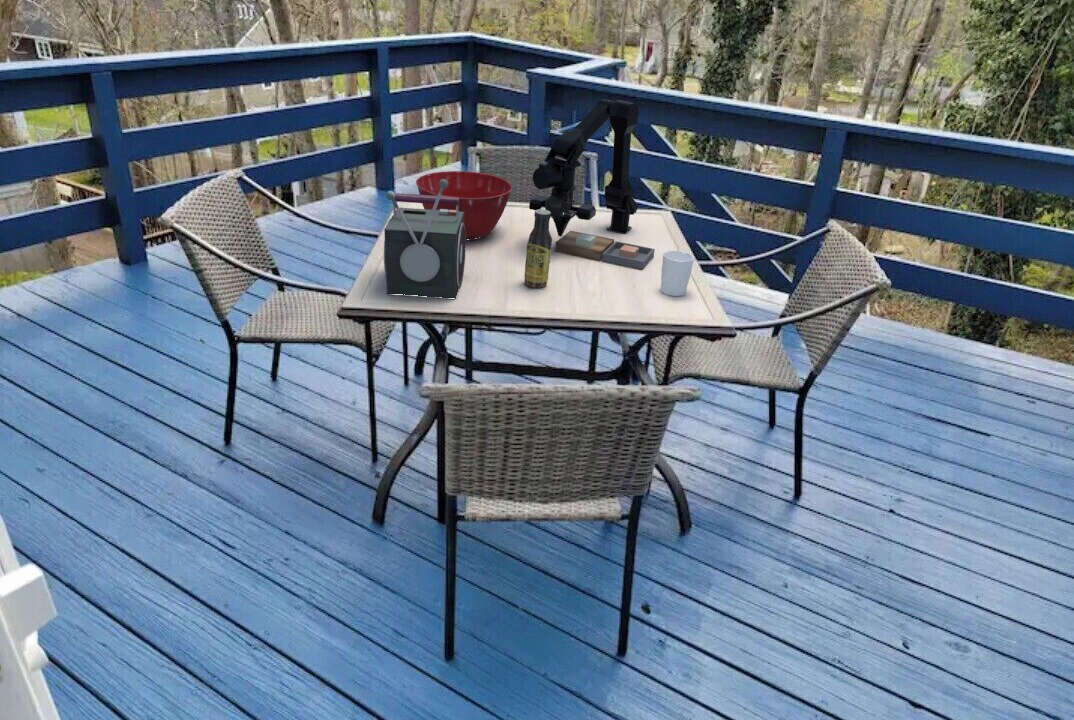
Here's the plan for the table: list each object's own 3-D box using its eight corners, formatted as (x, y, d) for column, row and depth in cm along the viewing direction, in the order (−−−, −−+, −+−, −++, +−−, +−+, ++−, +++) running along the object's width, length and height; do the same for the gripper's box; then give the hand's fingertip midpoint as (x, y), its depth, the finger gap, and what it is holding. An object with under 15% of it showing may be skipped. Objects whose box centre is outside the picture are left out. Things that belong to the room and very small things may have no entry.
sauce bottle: (519, 285, 196) (523, 211, 186) (531, 277, 201) (535, 205, 191) (541, 291, 193) (546, 216, 184) (552, 283, 198) (558, 210, 189)
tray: (614, 249, 224) (615, 241, 223) (653, 257, 220) (654, 248, 219) (601, 261, 214) (602, 253, 213) (642, 270, 211) (643, 261, 209)
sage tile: (581, 240, 220) (581, 233, 220) (595, 243, 219) (596, 236, 218) (575, 244, 217) (576, 238, 216) (590, 247, 215) (590, 240, 214)
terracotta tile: (639, 247, 219) (638, 254, 220) (624, 244, 220) (623, 251, 221) (634, 252, 215) (633, 258, 216) (619, 249, 217) (618, 255, 218)
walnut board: (569, 239, 229) (570, 230, 227) (613, 248, 224) (614, 239, 223) (554, 251, 219) (555, 242, 218) (600, 261, 215) (601, 251, 213)
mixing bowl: (496, 216, 245) (497, 168, 237) (521, 246, 221) (524, 195, 214) (409, 220, 236) (408, 171, 229) (426, 252, 213) (426, 199, 205)
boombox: (465, 271, 202) (467, 160, 188) (456, 303, 184) (457, 182, 169) (398, 267, 202) (395, 155, 188) (382, 298, 184) (377, 177, 169)
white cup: (670, 283, 204) (675, 248, 199) (694, 292, 199) (700, 256, 194) (652, 290, 199) (657, 254, 194) (676, 299, 194) (682, 263, 189)
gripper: (522, 184, 209) (519, 238, 217) (585, 196, 203) (580, 250, 211) (538, 175, 218) (535, 227, 226) (598, 186, 212) (593, 239, 220)
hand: (560, 236), depth 220 cm, fingers closed
